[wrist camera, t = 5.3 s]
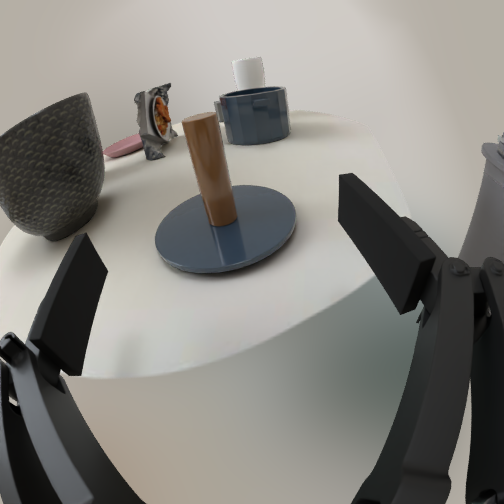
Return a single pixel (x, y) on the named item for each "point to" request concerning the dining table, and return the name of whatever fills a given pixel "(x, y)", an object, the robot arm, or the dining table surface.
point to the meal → (154, 120)
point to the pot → (256, 115)
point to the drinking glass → (248, 73)
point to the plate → (124, 146)
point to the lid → (221, 212)
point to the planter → (52, 169)
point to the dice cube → (219, 111)
